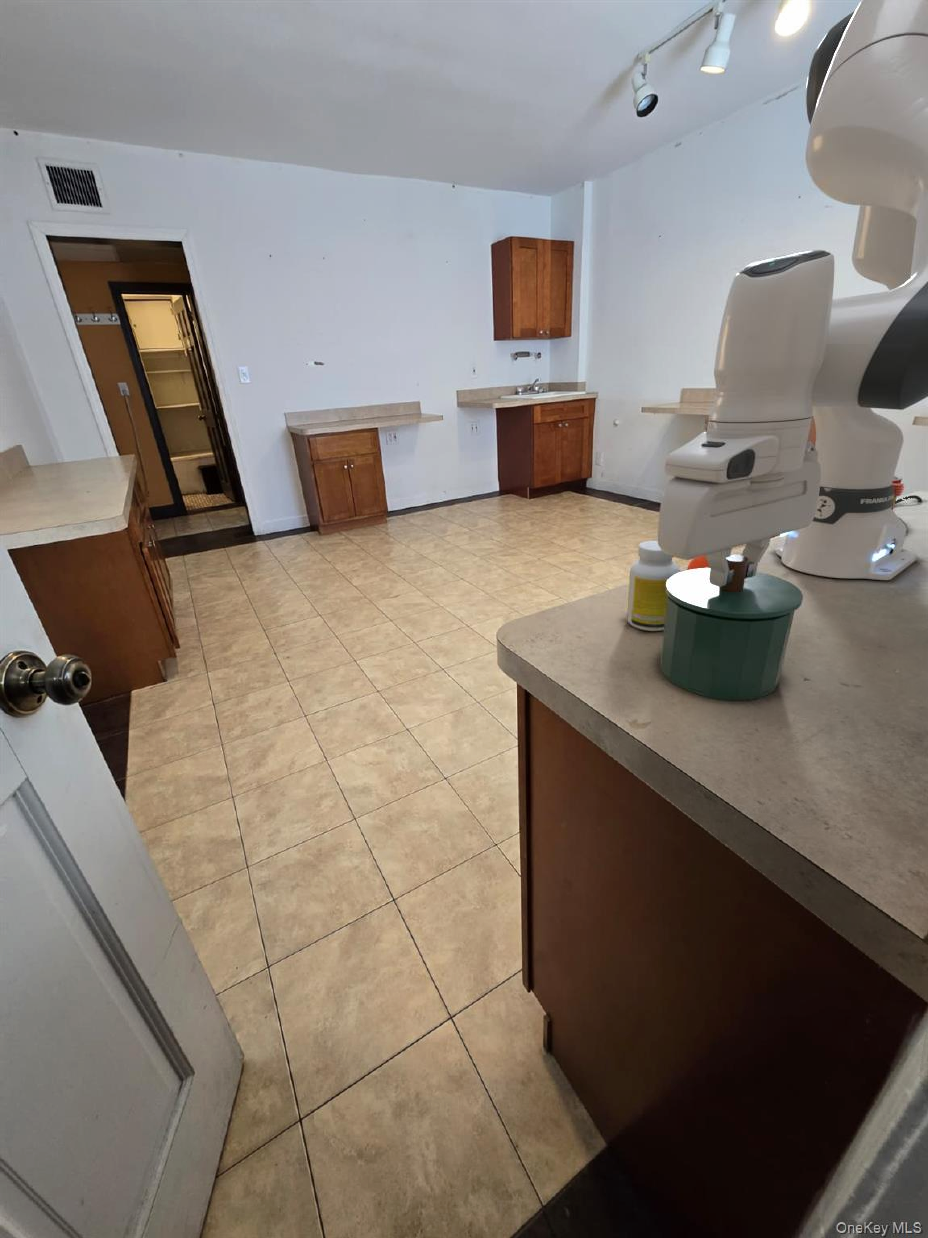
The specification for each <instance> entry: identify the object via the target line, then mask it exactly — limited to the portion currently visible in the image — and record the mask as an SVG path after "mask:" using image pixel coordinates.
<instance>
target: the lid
mask: <svg viewBox="0 0 928 1238" xmlns="http://www.w3.org/2000/svg"><path fill="white" fill-rule="evenodd" d="M741 555H742V554H731V556H730V557H726V559H727V563H728V567H729V568H731V569H734V574H733V577H732V579H733V580H732V583H731V584H728V585H725V586H722V587H718V586H716V585H713V584H711V583H710V581H709V577H710V570H711V568H700V569H692V570H687V569H686V570H683V571H680V573H677V574H675V575H673V576H671V577H670V578H669V579H668V580H667V581H666V585H665V591H666V593H667V595H668V596H669V597H670V598H671V599H672V600H673V601H675V602H677V603H678V604H680V605H682V606H684V607H687V608H690V609H692V610H695V611H699V612H702V613H706V614H711V615H716V616H722V617H730V618H744V619H759V618H771V617H777V616H782V615H786V614H789V613H791V612H793V611H797V610H798V609H799V608H800V607H801V606H802V603H803V600H804V594H803V593H802V590H800V588H799V587H797V586H796V585H795V584H794V583H792V582H790V581H788V580H785V579H783V578H781V577H779V576H775V575H772V574H768V573H764V572H760V571H756V575H755V576H753V577H750V578H746V579H745V575H746V569H747V564H748V558H747V557H745V556H741Z"/></svg>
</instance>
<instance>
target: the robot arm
mask: <svg viewBox="0 0 928 1238" xmlns="http://www.w3.org/2000/svg"><path fill="white" fill-rule="evenodd" d="M805 105H806V106H805V107H806V114H807V115H806V116H807V120H808V123H809V125H810V126H809V129H808V135H807V140H806V148H805V165H806V169H807V172H808V175H809V177H810V179H811V180H812V182H813V184H814V185H815V186H816V188H818V189H819V191H820V192H822V193H823V194H824V195H826V197H829V198H830V199H833V200H834V201H836V202H839V203H843V204H846V205H851V206H859V209H858V216H857V221H856V229H855V235H854V241H853V247H852V253H851V263H852V266H853V268H854V270H855V271H856V273H857V274H859V275H860V276H861V277H863V278H864V279H867V280H869V281H872V282H875V283H878V284H881V285H884V286H885V287H886V288H887V289H888V290H886V291H882V292H881V291H880V292H874V293H867V294H859V295H853V296H845V297H837V298H833V297H834V285H835V256H834V254H833V253H832V252H829V251H827V250H823V249H812V250H804V251H800V252H794V253H788V254H783V255H779V256H775V257H773V258H769V259H761V260H758V261H755V262H752V263H750V264H748V265H746V266H745V267H743V269H741V270H739V271H737V273H736V274H735V276H734V278H733V279H732V280H733V281H732V283H731V286H730V289H729V292H728V296H727V299H726V301H725V302H726V303H725V306H724V311H723V315H722V319H721V323H720V324H721V325H720V328H719V329H720V330H719V334H718V339H717V346H716V353H715V360H714V368H713V376H714V382H715V395H714V400H713V404H712V406H711V408H710V411H709V413H708V417H707V425H706V431H703V432H701V433H699V434H698V435H697V436H695V437H694V438H693V439H692V440H690V441H688V442H687V443H685V444H684V445H682V446H680V447H678V448H677V449H674V450H673V451H671V452H670V453H669V454H668V455H667V457H666V459H665V465H664V470H665V471H664V472H665V475H667V476H670V477H673V478H671V479H670V480H669V481H668V482H667V483H666V485H665V487H664V490H663V492H662V496H661V500H660V501H661V502H660V507H659V514H658V516H659V517H658V523H657V524H658V525H657V538H656V539H657V541H658V545H659V547H660V549H661V550H662V552H663V553H665V554H667V555H670V556H673V558H676V559H680V560H684V561H691V560H692V559H694V558H697V557H701V556H704V555H705V557H706V560H707V562H708V564H709V567H710V568H711V570H710V577H709V581H710V583H711V584H713V585H716V586H718V587H722V586H725V585H728V584H731V583H732V580H733V579H732V577H733V574H734V569H731V568H729V567H728V563H727V559H726V557H730V556H731V555H732V550H733V548H737V547H740V546H743V545H745V546H744V548H743V551H742V553H741V554H740V555H741V556H745V557H747V558H748V564H747V569H746V575H745V579H746V578H750V577H753V576H755V575H756V572H758V567H759V566H758V565H759V563H760V561H761V560H762V558H763V556H764V554H765V553H766V551H767V550H768V548H769V547H770V543H771V538H773V537H776V536H779V537H782V538H783V537H784V536H785V539H784V543H783V546H779V547H777V548H776V552H775V553H776V554H777V555H778V556H779V557H781V563H782V564H783V565H784V566H786V567H788V568H789V569H792V570H794V571H798V572H801V573H805V574H809V575H814V576H819V577H825V578H835V579H865V580H866V579H867V580H876V581H891V580H892V579H893V578H895V577H896V576H897V575H899V574H900V573H901V572H903V571H904V570H906V569H907V568H908V567H909V566H910V565H912V564H913V563H915V562H916V561H917V558H918V554H917V553H915V552H913V551H910V550H907V549H904V548H903V546H904V543H905V539H906V535H907V530H908V526H907V524H906V523H905V521H904V520H903V519H902V518H901V517H900V516H898V515H897V514H896V513H895V511H894V509H893V510H892V509H891V507H892V506H893V498H894V496H897V497H900V496H901V495H902V494H903V493H904V490H905V484H904V483H901V484H894V483H892V481H893V477H894V475H895V473H896V470H897V466H898V462H899V460H900V456H901V452H902V448H903V444H904V433H903V431H902V429H901V428H900V426H898V425H897V423H895V422H893V421H892V420H890V419H888V418H887V417H884V416H883V415H881V414H878V413H876V412H874V411H873V410H872V409H883V410H899V411H902V410H905V409H908V408H909V407H912V406H913V405H915V404H917V403H920V402H921V401H923V400H924V399H926V398H928V0H860V1H859V3H858V6H857V7H856V9H855V10H854V11H852V12H851V13H849V14H848V15H847V16H844V17H843V18H842V19H840V21H838V22H837V23H835V24H834V25H833V26H832V27H831V28H830V29H829V30H828V31H827V33H826V34H825V36H824V37H823V38H822V40H821V42H820V43H819V44H818V46H817V47H816V49H815V51H814V54H813V56H812V59H811V62H810V67H809V71H808V76H807V80H806V86H805ZM812 420H813V422H814V426H815V442H814V443H815V445H814V443H813V442H812V441H811V440H808V438H809V434H810V430H811V425H812ZM907 496H908V497H907ZM907 496H904V497H905V498H904V497H902V498H903V499H906V500H902V499H901V498H898V499H896V500H897V501H895V505H897V504H899V503H901V502H904V501H907V500H911V498H912V499H915V500H917V502H918V503H923V499H922V497H920V496H919V495H914V494H913V495H907ZM908 498H910V499H908Z"/></svg>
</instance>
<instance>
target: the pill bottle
mask: <svg viewBox="0 0 928 1238" xmlns="http://www.w3.org/2000/svg"><path fill="white" fill-rule="evenodd" d="M637 555H638V557H639V559H638V560H636V561H634V562H633V563H632V565H631V566H630V569H629V582H628V583H629V584H628V600H627V613H626V619H627V622H628V623H629V624H630V625H631V626H632V627H634V628H636V629H639V630H642V631H648V632H659V631H664V622H665V612H666V603H667V593H666V591H665V585H666V581H667V580H668V579H669V578H670V577H671V576H673V575H675V574H677V573H680V572H681V569H680V566H679V565H678V563H676V562H675V561H674V560H673V558H674V557H673V556H670V555H667V554H665V553H663V552H662V550H661V549H660V547H659V545H658V540H647V541H646V540H645V541H642V542H640V543H639V544H638V549H637Z"/></svg>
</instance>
